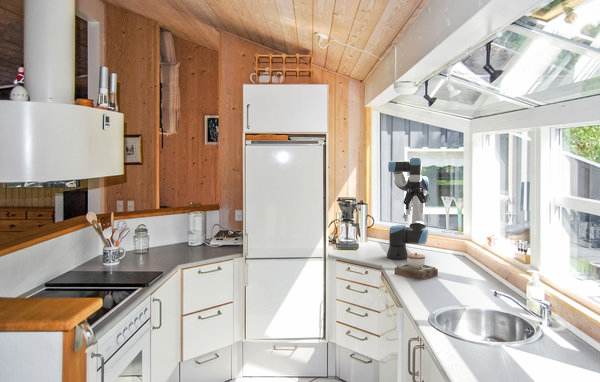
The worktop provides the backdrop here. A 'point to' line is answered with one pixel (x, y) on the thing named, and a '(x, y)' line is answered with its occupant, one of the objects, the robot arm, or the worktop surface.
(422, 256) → the lidded jar
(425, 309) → the worktop surface
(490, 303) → the worktop surface
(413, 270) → the tray
